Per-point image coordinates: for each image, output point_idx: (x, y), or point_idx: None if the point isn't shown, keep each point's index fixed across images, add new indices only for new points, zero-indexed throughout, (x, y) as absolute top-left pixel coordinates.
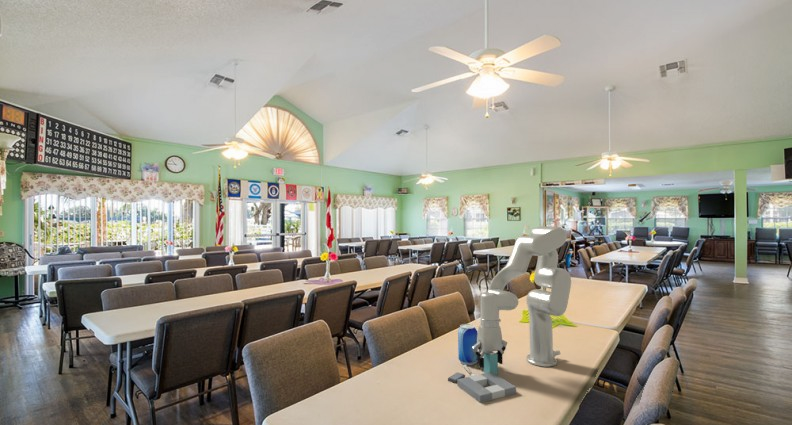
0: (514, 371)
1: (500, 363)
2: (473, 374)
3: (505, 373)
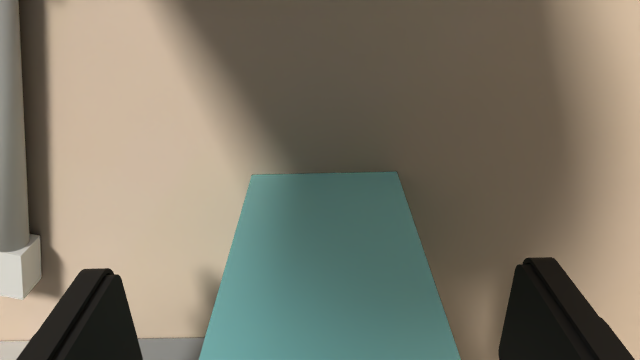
0: (629, 307)
1: (500, 356)
2: (9, 272)
3: (483, 309)
